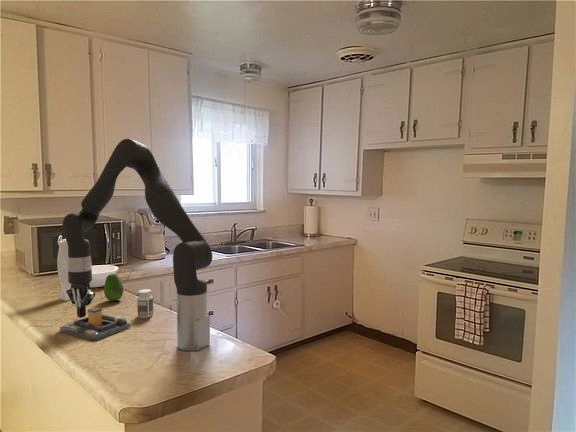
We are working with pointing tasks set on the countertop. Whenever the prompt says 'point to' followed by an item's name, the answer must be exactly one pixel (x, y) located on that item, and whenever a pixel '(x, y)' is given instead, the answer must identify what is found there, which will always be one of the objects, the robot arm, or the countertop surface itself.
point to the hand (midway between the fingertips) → (81, 316)
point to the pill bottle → (145, 303)
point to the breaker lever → (95, 316)
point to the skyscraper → (63, 268)
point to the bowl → (101, 274)
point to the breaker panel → (93, 329)
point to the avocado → (113, 288)
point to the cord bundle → (114, 319)
